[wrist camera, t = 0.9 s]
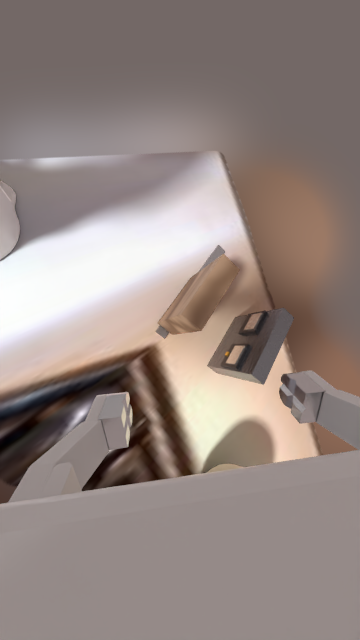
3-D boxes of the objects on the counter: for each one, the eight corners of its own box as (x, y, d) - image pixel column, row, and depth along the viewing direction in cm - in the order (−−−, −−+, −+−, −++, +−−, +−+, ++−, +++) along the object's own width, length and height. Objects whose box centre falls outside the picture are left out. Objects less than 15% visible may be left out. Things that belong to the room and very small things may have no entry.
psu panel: (155, 331, 40) (180, 325, 27) (217, 245, 49) (259, 210, 36) (214, 376, 44) (261, 390, 31) (262, 290, 53) (314, 272, 40)
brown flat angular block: (157, 323, 40) (181, 314, 28) (190, 277, 44) (223, 253, 32) (172, 334, 41) (201, 330, 29) (203, 289, 45) (239, 269, 33)
